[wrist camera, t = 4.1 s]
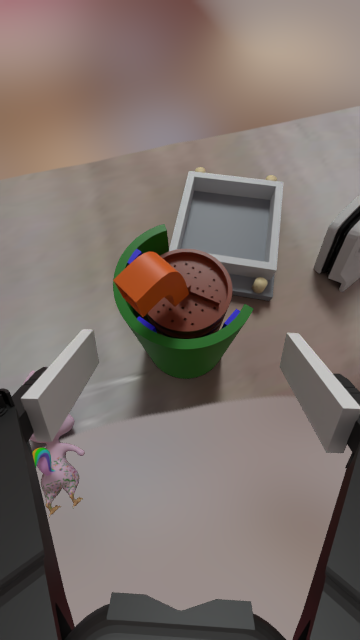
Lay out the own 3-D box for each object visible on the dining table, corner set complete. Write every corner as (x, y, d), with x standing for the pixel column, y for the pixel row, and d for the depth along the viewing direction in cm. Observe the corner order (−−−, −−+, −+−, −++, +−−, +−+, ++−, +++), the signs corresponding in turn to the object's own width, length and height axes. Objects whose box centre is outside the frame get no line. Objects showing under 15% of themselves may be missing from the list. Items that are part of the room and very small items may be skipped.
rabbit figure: (101, 487, 28) (71, 360, 30) (81, 520, 22) (45, 359, 24) (47, 506, 27) (21, 376, 30) (11, 545, 21) (-17, 379, 24)
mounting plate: (162, 283, 34) (160, 269, 31) (188, 179, 41) (188, 159, 37) (269, 300, 33) (279, 288, 29) (279, 190, 39) (287, 170, 36)
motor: (234, 336, 31) (303, 234, 13) (196, 395, 29) (210, 377, 10) (171, 297, 34) (150, 159, 15) (131, 348, 31) (45, 263, 13)
